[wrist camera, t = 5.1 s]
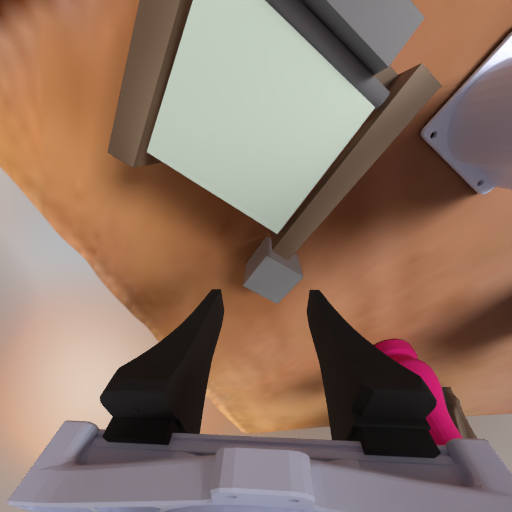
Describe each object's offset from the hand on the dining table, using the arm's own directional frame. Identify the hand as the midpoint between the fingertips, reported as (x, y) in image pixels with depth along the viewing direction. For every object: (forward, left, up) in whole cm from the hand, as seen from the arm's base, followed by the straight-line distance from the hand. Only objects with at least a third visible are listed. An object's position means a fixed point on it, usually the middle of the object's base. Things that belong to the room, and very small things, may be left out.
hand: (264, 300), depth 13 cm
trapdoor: (+6, -9, -4) cm, 12 cm away
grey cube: (-2, +2, -10) cm, 11 cm away
